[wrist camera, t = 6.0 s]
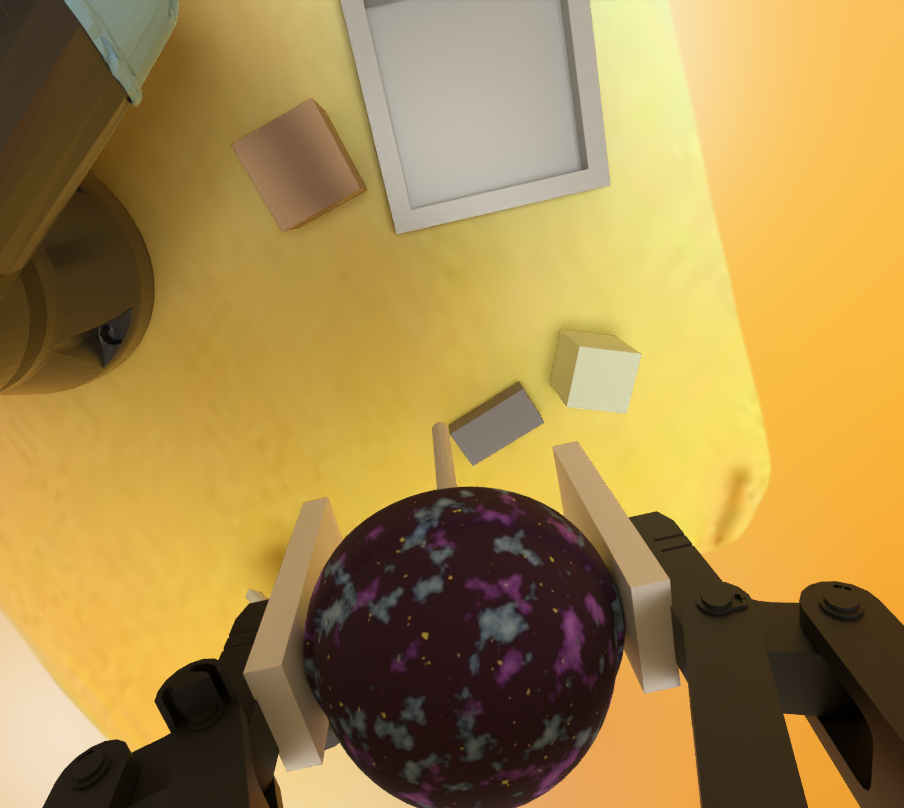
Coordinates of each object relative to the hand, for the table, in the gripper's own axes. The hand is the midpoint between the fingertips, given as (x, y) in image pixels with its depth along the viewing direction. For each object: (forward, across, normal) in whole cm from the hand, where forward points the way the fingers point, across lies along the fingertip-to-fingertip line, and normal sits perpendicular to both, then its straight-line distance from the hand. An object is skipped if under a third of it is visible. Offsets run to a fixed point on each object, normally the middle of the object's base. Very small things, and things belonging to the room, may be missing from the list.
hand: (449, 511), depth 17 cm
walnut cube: (+24, -5, +12) cm, 27 cm away
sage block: (+24, +10, -4) cm, 26 cm away
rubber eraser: (+24, +3, -7) cm, 25 cm away
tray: (+24, +6, +14) cm, 28 cm away
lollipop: (+7, 0, 0) cm, 7 cm away
